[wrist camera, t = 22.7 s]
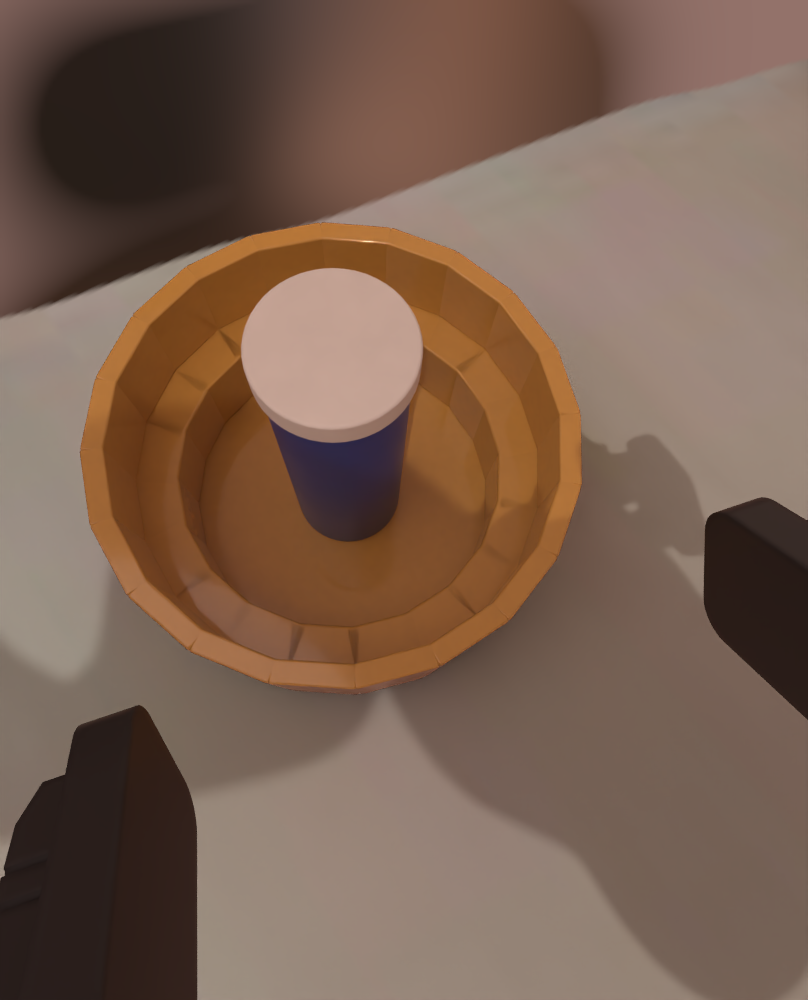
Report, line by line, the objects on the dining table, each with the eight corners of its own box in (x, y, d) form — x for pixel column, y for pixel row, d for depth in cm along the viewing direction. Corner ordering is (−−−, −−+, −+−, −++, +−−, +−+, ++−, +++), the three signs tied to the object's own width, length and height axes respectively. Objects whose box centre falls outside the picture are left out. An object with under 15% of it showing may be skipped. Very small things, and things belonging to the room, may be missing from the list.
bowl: (81, 603, 23) (-18, 565, 17) (252, 283, 27) (219, 164, 21) (457, 758, 22) (487, 774, 16) (579, 404, 26) (638, 315, 20)
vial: (276, 522, 23) (209, 389, 14) (320, 427, 24) (286, 242, 15) (378, 562, 23) (383, 456, 13) (418, 465, 24) (449, 302, 14)
